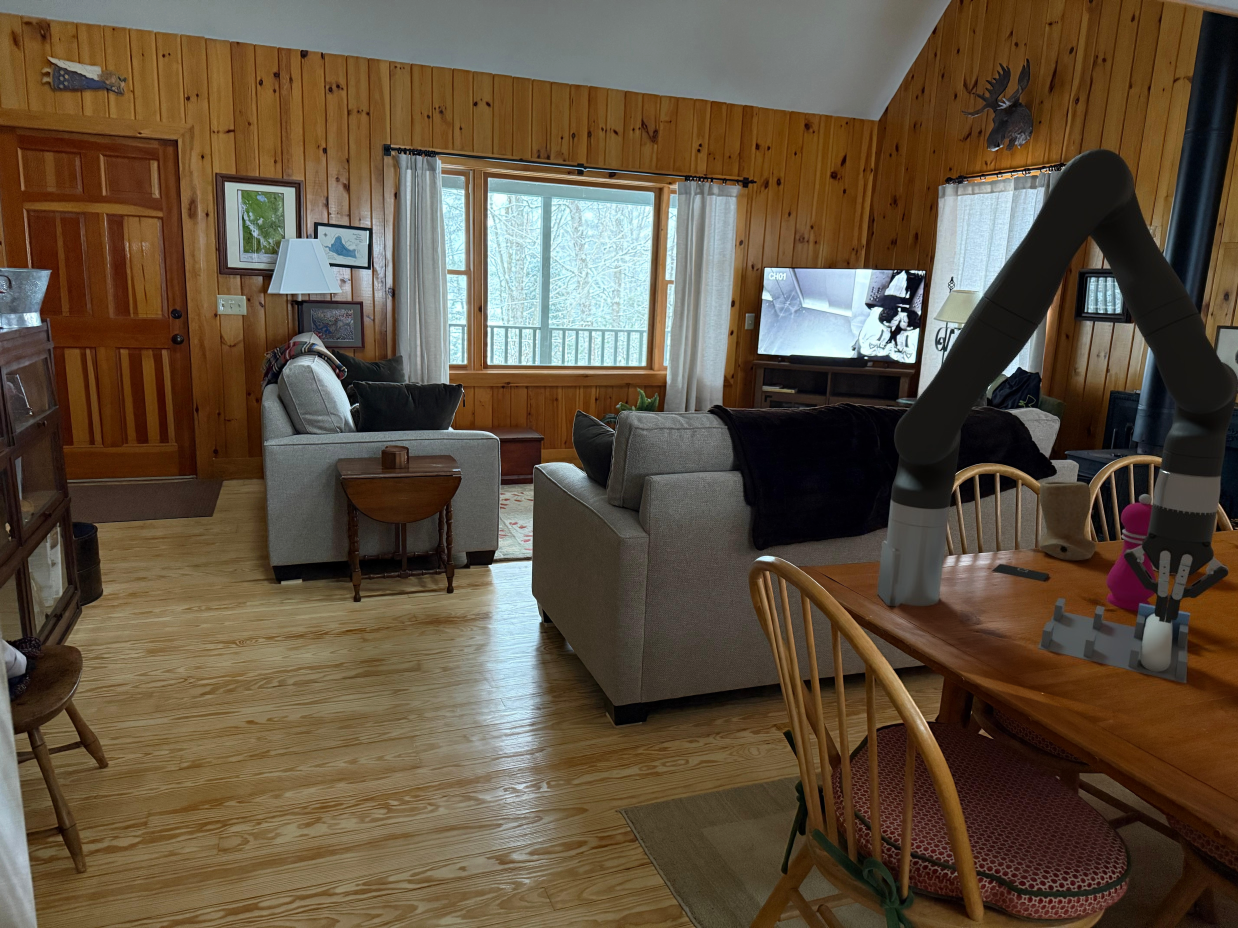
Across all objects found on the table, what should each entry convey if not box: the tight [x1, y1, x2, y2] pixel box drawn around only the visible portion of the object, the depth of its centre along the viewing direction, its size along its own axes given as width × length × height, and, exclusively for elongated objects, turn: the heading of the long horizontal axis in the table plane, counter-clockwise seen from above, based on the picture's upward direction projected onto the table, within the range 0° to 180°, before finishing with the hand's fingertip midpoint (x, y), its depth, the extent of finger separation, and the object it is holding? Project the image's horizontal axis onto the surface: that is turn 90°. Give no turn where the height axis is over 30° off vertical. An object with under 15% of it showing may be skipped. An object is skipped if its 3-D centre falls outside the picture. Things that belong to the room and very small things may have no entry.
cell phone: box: [991, 563, 1050, 583], centre depth 153 cm, size 9×18×1 cm, turn 142°
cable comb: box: [1037, 597, 1191, 684], centre depth 123 cm, size 19×18×5 cm
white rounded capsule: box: [1140, 613, 1173, 672], centre depth 121 cm, size 16×4×4 cm, turn 146°
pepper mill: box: [1105, 493, 1157, 611], centre depth 139 cm, size 7×7×20 cm
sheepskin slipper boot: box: [1039, 480, 1097, 561], centre depth 172 cm, size 15×12×15 cm
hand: (1165, 620), depth 120 cm, fingers closed
